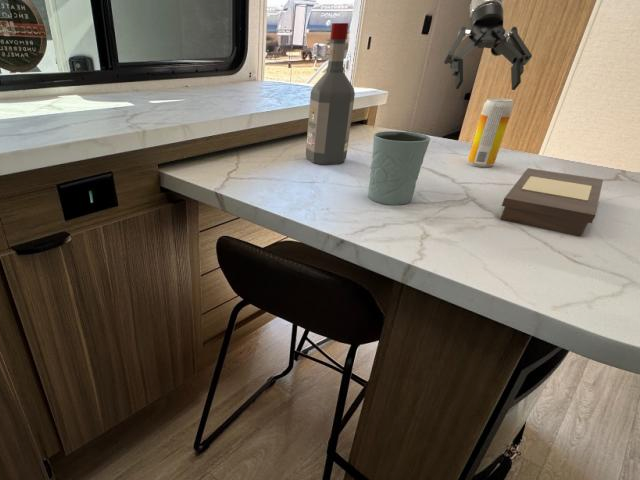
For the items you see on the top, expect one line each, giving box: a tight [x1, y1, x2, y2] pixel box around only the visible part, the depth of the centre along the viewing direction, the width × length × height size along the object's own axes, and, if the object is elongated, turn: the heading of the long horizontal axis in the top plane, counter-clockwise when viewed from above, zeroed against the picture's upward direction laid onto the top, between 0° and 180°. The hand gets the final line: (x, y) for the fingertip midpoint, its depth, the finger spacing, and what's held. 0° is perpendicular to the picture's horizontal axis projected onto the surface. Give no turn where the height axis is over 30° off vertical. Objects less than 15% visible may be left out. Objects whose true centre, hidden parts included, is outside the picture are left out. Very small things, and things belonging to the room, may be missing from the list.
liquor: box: [305, 22, 356, 166], centre depth 101 cm, size 9×9×30 cm
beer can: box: [467, 97, 514, 168], centre depth 101 cm, size 6×6×15 cm
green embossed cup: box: [367, 130, 431, 206], centre depth 81 cm, size 10×10×12 cm
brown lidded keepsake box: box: [500, 167, 604, 237], centre depth 78 cm, size 24×13×4 cm, turn 141°
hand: (487, 85), depth 104 cm, fingers open, 13 cm apart
